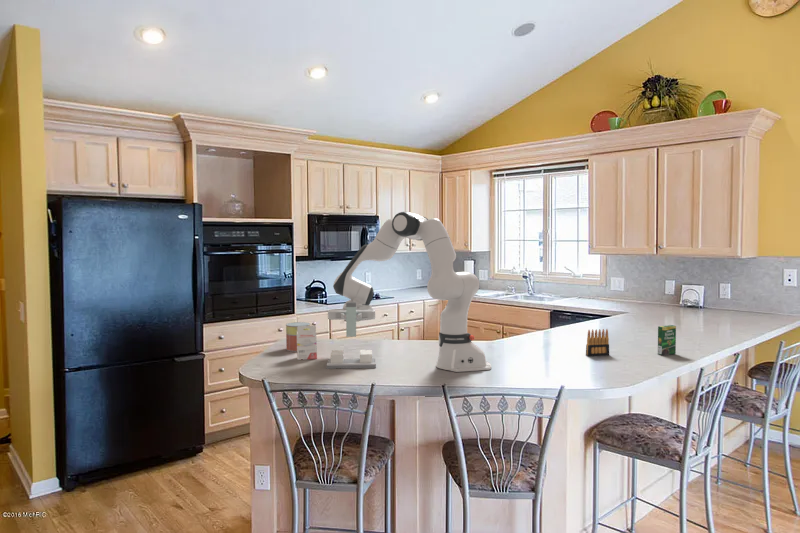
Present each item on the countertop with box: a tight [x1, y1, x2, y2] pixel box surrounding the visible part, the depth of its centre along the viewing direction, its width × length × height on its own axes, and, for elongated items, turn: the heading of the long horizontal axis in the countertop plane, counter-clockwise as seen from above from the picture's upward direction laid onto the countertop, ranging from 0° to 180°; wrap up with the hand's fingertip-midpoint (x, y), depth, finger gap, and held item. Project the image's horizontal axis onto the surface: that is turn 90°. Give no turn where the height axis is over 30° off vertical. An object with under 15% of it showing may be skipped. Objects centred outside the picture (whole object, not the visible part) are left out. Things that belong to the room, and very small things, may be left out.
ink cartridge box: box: [296, 325, 318, 361], centre depth 251 cm, size 9×5×15 cm, turn 101°
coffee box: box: [657, 324, 677, 356], centre depth 258 cm, size 8×3×13 cm, turn 107°
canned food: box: [285, 321, 311, 353], centre depth 271 cm, size 11×11×12 cm
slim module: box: [345, 301, 357, 338], centre depth 238 cm, size 4×4×14 cm
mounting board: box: [326, 349, 377, 370], centre depth 239 cm, size 20×12×5 cm, turn 94°
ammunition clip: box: [585, 328, 610, 357], centre depth 256 cm, size 11×2×12 cm, turn 102°
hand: (351, 317), depth 237 cm, fingers closed on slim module, 4 cm apart
